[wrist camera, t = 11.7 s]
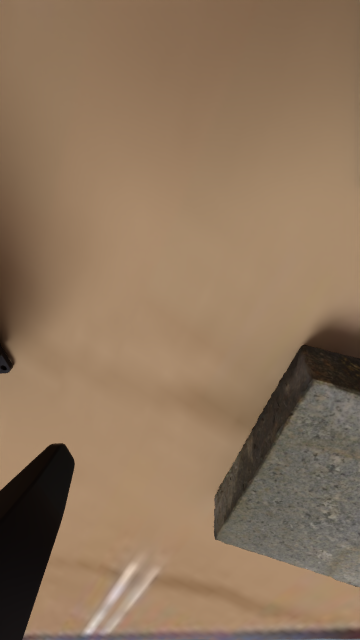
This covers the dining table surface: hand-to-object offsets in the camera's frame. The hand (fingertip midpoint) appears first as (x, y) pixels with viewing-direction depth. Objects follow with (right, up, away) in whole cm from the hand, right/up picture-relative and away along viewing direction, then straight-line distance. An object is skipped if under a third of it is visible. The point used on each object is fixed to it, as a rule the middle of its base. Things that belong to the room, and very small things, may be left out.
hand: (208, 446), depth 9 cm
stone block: (+11, -7, +18) cm, 22 cm away
